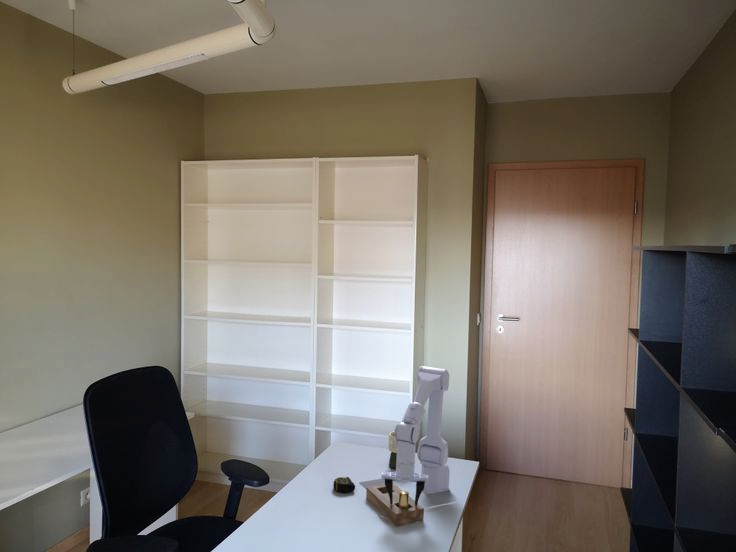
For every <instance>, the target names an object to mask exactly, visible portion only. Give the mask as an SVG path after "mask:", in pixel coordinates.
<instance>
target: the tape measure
mask: <svg viewBox="0 0 736 552" xmlns="http://www.w3.org/2000/svg"><path fill="white" fill-rule="evenodd" d="M332 487H333V489H334V491H335V492H337V493H340V494H347V493H352V492H354V491H355V490H356V485H355V483H354V482H353V481H352V480H351V478H350V477H349V476H347V477H343V476H341V477H337V478H336V477H335V479H334V481H333V486H332Z"/></svg>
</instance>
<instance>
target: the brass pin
mask: <svg viewBox="0 0 736 552" xmlns="http://www.w3.org/2000/svg"><path fill="white" fill-rule="evenodd" d="M409 497H410V492H409V491H406V490H402V491H400V492H399V509H400V510H403V509H408V501H409Z"/></svg>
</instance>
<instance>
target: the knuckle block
mask: <svg viewBox="0 0 736 552" xmlns="http://www.w3.org/2000/svg"><path fill="white" fill-rule="evenodd" d="M400 491H403V490H402V489H401V488H400V487H398V485H396V484H395V483H394V482H393V489H392V492H393V503H392V504H390V498H389V494H388V491H387V489H386V486H385V484H384V485H378V486H372V487H367V490H366V497H365V498H366V500H368V501H369V503H371V505H373V507H375V508H376V509H377V510H378V511H379V512H381V514H382V515H383V517H384V518H385V519H386V520H388V522H390V524H392V525H393V526H394V527H395V528H396V527H401V526H406V525H411V524H415V523H420V522H424V519H425V518H424V513H425V508H424V507H423V506H422V505H420V503H418V504H417V506H415V499H413V498H412V497H411V496H409V501H408V509H403V510H400V509H399V492H400Z"/></svg>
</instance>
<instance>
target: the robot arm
mask: <svg viewBox="0 0 736 552" xmlns="http://www.w3.org/2000/svg"><path fill="white" fill-rule="evenodd" d="M416 381H417V389H416V393H415V396H414V399H413V401H412V402H411V403H409V404H408V405H407V408H406V411H405V413H404V415H403V418H402V419H401V421H400V422H398V423H397V424H396V425H395V429H394V431H395V433H394V436H395V440H396V446H397V461H396V469H395V471H390V472H387V471H386V472H385V471H384V472H383V471H382V472H381V478H380V479H381V481H385V486H386V489H387V491H388V494H389V498H390V504H392V503H393V492H392V489H393V483H394V482H393V481H397V482H402V483H409V482H412V483H415V495H414V501H415V506H417V504H419V503H418V502H419V500H420V497H421V495H422V492H424V493H425V494H426V495H430V494H436V493H441V492H449V491H450V490H451V488H450V468H449V465H448V464H447V462H448V459H449V449H448V448H449V446H448V442H447V441H446V440H445V439H443V437H442V436H441V430H442V418H443V417H442V416H443V404H444V403H443V401H444V392H447V391H448V390H449V387H450V386H449V385H450V373H449V371H448V369H446V368H439V367H431V366H425V365H421V366H420V367H419V368H418V370H417V373H416ZM427 401H428V407H427V408H428V410H427V420H426V421H427V422H426V434H425V436H423V437H422V438H421V439H420V440H419V437H420V432H421V423H422V421H423V418H424V417H425V413H426V409H425V405H426V404H427ZM418 440H419V442H418ZM417 442H418V448H417V451H416V445H417ZM416 453H417V454H416ZM416 455H417V459H418V461H419V463H420V464H421V473H416V472H415V470H416V469H415V468H416V467H415V466H416V465H415V464H416Z"/></svg>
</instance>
